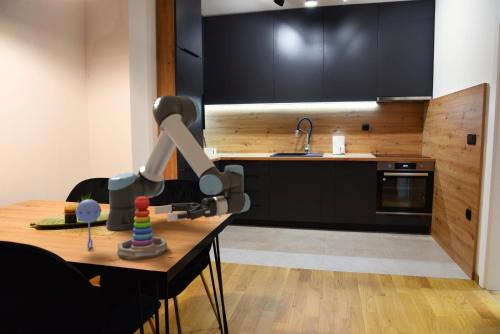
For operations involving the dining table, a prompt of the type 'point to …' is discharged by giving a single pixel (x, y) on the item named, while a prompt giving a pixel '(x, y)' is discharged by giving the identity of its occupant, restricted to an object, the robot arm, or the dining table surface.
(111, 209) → the robot arm
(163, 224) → the dining table surface
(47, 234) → the dining table surface
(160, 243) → the plate
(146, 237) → the stacking toy
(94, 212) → the baby rattle
